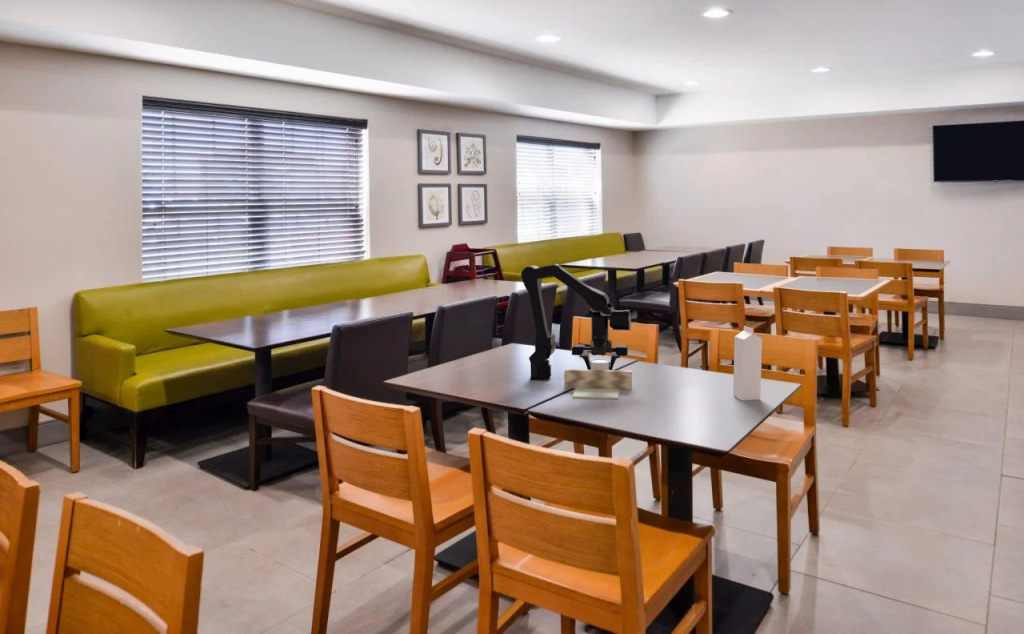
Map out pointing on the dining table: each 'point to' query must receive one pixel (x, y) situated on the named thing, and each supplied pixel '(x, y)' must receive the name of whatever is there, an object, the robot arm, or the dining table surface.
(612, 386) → the board
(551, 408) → the dining table surface
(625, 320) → the robot arm
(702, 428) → the dining table surface
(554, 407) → the dining table surface
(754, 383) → the milk
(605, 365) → the white cup
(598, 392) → the pad
